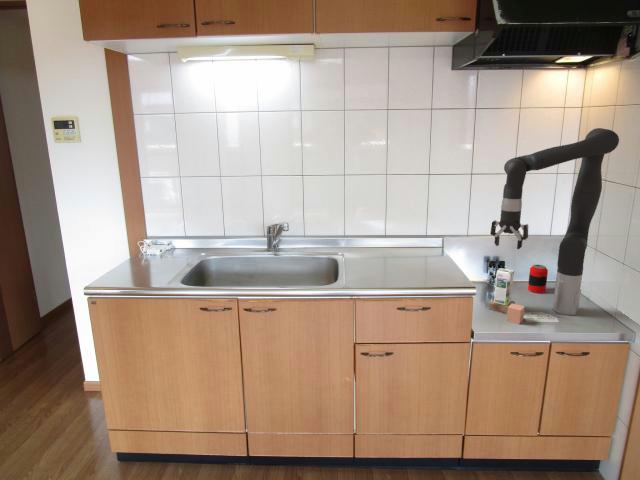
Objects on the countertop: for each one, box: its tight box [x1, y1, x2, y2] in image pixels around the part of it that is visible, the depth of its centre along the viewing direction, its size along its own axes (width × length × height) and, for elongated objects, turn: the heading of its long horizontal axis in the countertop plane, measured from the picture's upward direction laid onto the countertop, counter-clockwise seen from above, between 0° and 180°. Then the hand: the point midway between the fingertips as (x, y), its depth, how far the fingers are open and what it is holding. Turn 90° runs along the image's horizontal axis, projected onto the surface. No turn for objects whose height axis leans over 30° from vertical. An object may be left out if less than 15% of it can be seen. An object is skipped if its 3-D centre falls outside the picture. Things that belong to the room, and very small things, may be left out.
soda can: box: [527, 264, 549, 294], centre depth 210 cm, size 8×8×12 cm
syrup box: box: [493, 267, 515, 306], centre depth 190 cm, size 6×6×14 cm
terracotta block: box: [506, 303, 525, 325], centre depth 181 cm, size 5×5×6 cm
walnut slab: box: [488, 299, 516, 315], centre depth 193 cm, size 8×8×3 cm
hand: (507, 247), depth 185 cm, fingers open, 8 cm apart
